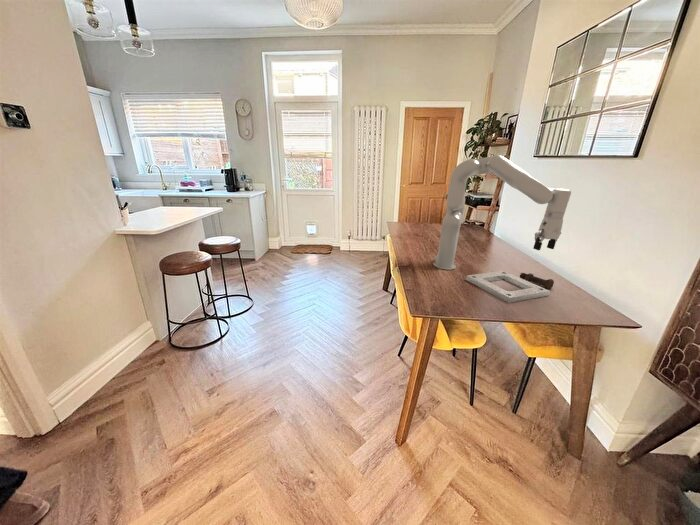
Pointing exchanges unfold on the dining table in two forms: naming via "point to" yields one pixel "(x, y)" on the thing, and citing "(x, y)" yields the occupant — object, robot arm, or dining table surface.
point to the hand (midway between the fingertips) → (543, 248)
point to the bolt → (537, 280)
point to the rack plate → (511, 296)
